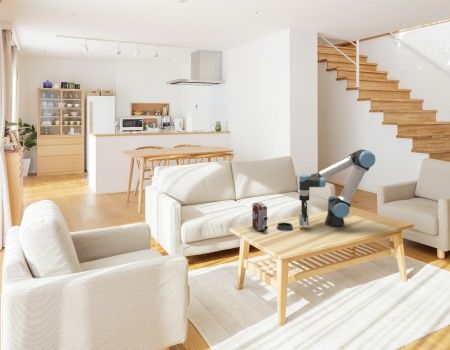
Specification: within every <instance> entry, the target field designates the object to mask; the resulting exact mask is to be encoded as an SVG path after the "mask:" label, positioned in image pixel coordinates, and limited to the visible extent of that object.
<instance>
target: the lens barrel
mask: <svg viewBox="0 0 450 350" xmlns="http://www.w3.org/2000/svg"><path fill="white" fill-rule="evenodd" d="M276 230H278V231H282V232H292V231H293V230H294V227H293V224H292V223H289V222H279V223H277V226H276Z"/></svg>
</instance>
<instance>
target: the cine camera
mask: <svg viewBox="0 0 450 350" xmlns="http://www.w3.org/2000/svg"><path fill="white" fill-rule="evenodd" d="M251 219H252V220H251V224H252V225H251V226H252V228H254V229H255V230H256V231H257V232H265V231H267V230H268V228H269V226H268V223H267V222H268V219H269V218H268V206H267V205H266V204H265V203H263V202H253V203H252V214H251Z"/></svg>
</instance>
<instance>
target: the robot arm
mask: <svg viewBox="0 0 450 350" xmlns="http://www.w3.org/2000/svg"><path fill="white" fill-rule="evenodd" d="M375 163H376V156H375V154H374V153H373V152H372V151H370V150H366V149H359V150H356V151H354V152H352V153H350V154H348V155H347V157H346V158H343V159H342V160H339V161H337V162H335V163H334V164H331V165H329V166H328V167H326V168H324V169H321V170H320V171H318V172H315V173H311V174H310V175H309V174H300V175H299V181H298V182H299V183H298V184H299V185H298V186H299V190H298V193H299V196H298V197H299V199H298V200H299V201H301V212H300V213H301V214H303V217H302V218H303V226H302V227H305V226H306V227H307V226H308V225H307V215H308V201H310V188H325V187H326V185H327V184H326V182H327V181H326V180H327V179H329V178H331V177H333V176H335V175H336V174H339V173H340V172H342V171H345V170H347V169H349V168H350V167H353V169H352V171H351V173H350V175H349V176H348V179H347V180H346V183H345V185H344V187H343V189H342V191H341V192H340V195H331V196H329V197H328V200H327V201H328V202H327V203H328V204H327V214H326V218H325V220H324V224H325V226H328V227H334V228H341V227H344V226H345V220H344V218H345V217H347V216H348V215H349V213H350V211H351V209H350V207H351V205H352V199H353V196H354V195H355V193H356V191H357V189H358V188H359V185H360V184H361V182H362V180H363V178H364V175H365V174H366V173H367V172H368V171H369V170H370V168H371V167H373V166H374V165H375Z"/></svg>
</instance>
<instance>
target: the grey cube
mask: <svg viewBox="0 0 450 350" xmlns="http://www.w3.org/2000/svg"><path fill="white" fill-rule="evenodd" d="M302 217H303V214H302V213H301V214H299V216H298V221H299V222H298V223H299V226H302V227H304V226H303V218H302ZM309 219H310V218H309V215H308V214H307V226H309V224H310V223H309V222H310V221H309Z"/></svg>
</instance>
